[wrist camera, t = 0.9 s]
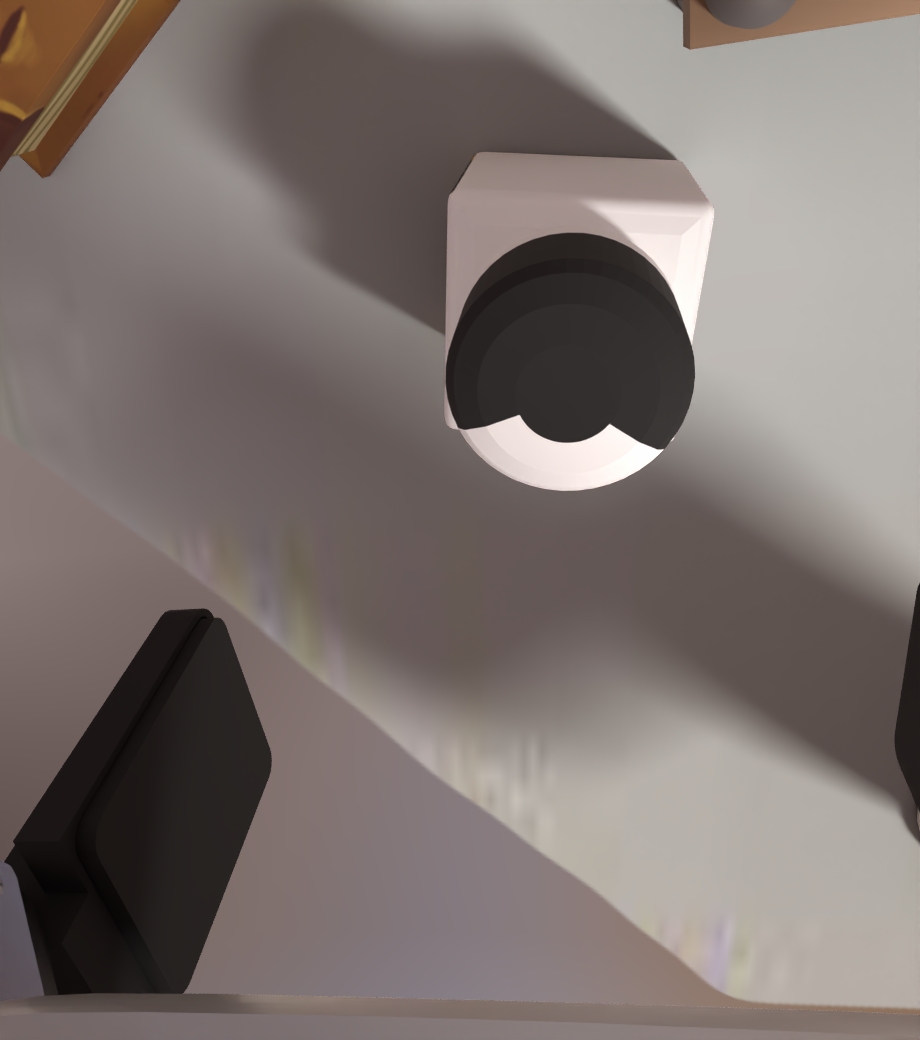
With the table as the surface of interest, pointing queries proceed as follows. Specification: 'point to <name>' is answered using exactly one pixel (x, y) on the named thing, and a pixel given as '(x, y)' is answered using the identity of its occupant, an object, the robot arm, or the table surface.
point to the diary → (65, 68)
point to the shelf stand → (778, 17)
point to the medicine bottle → (572, 312)
